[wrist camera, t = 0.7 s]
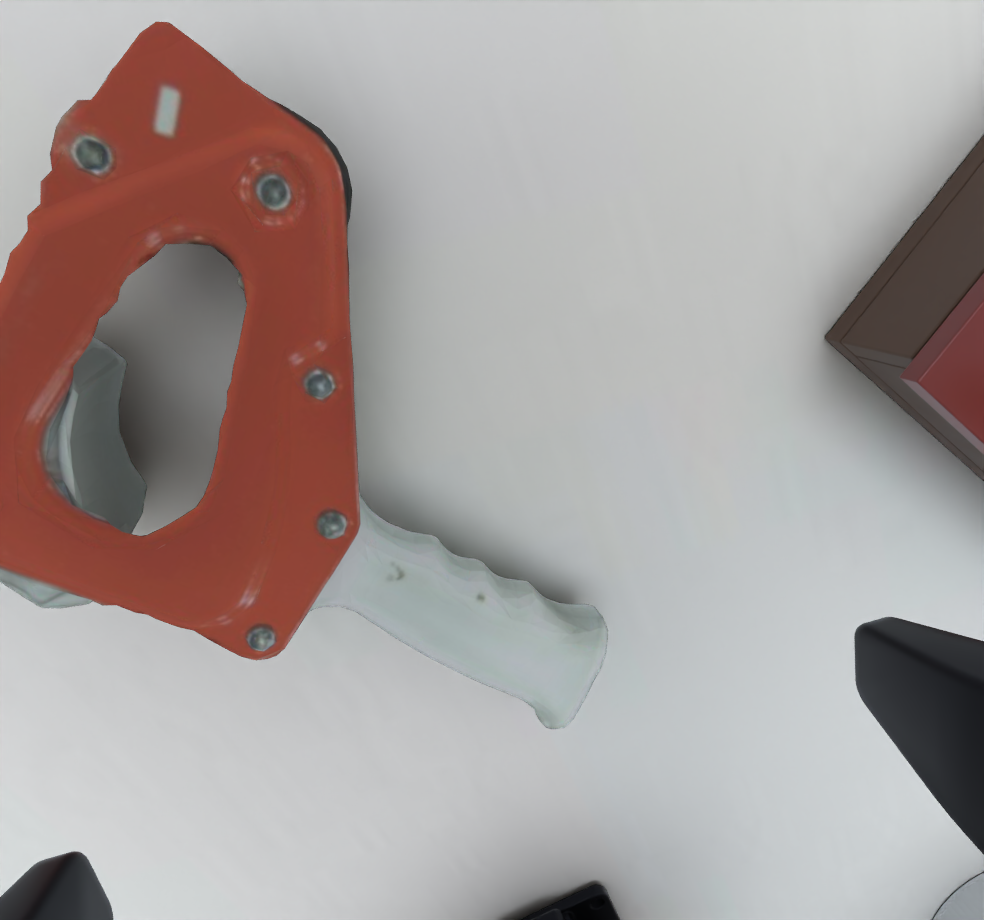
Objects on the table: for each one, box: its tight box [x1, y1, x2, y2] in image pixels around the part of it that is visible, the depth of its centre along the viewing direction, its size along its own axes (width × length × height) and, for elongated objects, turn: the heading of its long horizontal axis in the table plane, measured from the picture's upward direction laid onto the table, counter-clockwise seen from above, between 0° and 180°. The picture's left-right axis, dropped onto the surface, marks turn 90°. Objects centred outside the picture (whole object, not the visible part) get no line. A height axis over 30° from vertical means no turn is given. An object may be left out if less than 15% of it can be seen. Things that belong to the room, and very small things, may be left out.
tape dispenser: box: [0, 22, 608, 729], centre depth 18 cm, size 18×5×20 cm
